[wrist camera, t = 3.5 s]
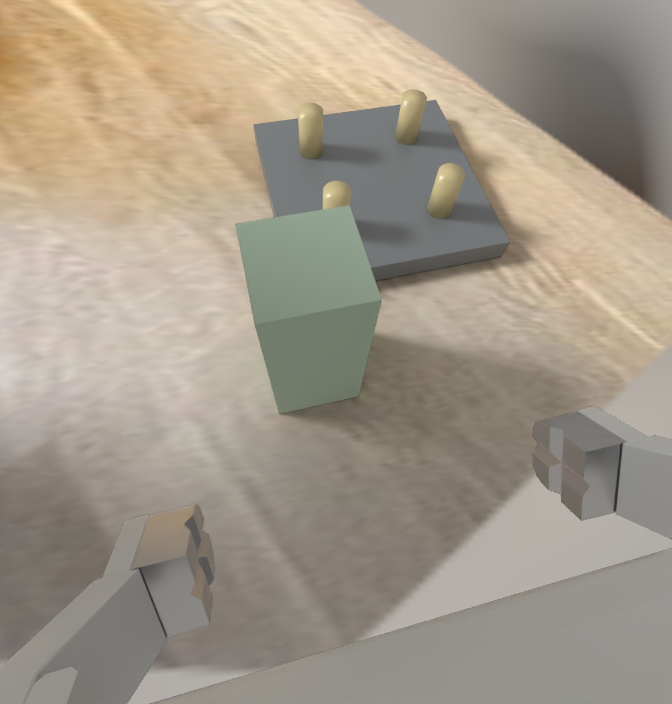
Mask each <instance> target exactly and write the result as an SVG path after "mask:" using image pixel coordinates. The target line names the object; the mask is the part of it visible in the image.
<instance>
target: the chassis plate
mask: <svg viewBox="0 0 672 704" xmlns="http://www.w3.org/2000/svg"><path fill="white" fill-rule="evenodd" d="M426 99H427V97H426V95H425V94H424V93H423V92H421V91H419V90H407V91H405V92H404V93H403V95H402V101H401V105H395V106H387V107H380V108H373V109H365V110H358V111H350V112H343V113H335V114H328V115H323V109H322V107H321V106H319V105H318V104H315V103H306V104H303V105H301V106H300V107H299V109H298V119H291V120H284V121H276V122H269V123H261V124H254V132H255V138H256V144H257V148H258V152H259V156H260V160H261V165H262V169H263V173H264V177H265V181H266V185H267V189H268V194H269V198H270V202H271V206H272V210H273V214H274V217H280V216H287V215H293V214H299V213H305V212H311V211H317V210H323V209H329V208H335V207H342V206H348V205H350V208H351V211H352V214H353V217H354V220H355V223H356V226H357V229H358V232H359V235H360V237H361V240H362V243H363V246H364V249H365V252H366V255H367V258H368V261H369V264H370V267H371V270H372V273H373V275H374V278H375V281H377V280H382V279H387V278H393V277H398V276H403V275H408V274H414V273H419V272H424V271H429V270H435V269H440V268H445V267H451V266H456V265H461V264H466V263H472V262H477V261H482V260H487V259H493V258H498V257H501V256H502V255H503V253H504V251H505V250H506V248H507V246H508V244H509V243H510V241H509V239H508V237H507V235H506V233H505V232H504V230H503V228H502V226H501V224H500V222H499V220H498V218H497V216H496V214H495V212H494V210H493V209H492V207H491V205H490V203H489V201H488V199H487V197H486V195H485V193H484V191H483V189H482V187H481V186H480V184H479V182H478V180H477V178H476V176H475V174H474V172H473V170H472V168H471V166H470V165H469V163H468V161H467V159H466V157H465V155H464V153H463V151H462V149H461V147H460V145H459V143H458V142H457V140H456V138H455V136H454V134H453V132H452V130H451V128H450V126H449V124H448V122H447V120H446V119H445V117H444V115H443V113H442V111H441V109H440V107H439V105H438V103H437V101H436V100H432V101H426Z"/></svg>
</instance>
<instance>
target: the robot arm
mask: <svg viewBox="0 0 672 704" xmlns="http://www.w3.org/2000/svg"><path fill="white" fill-rule="evenodd" d="M533 438H534V439H535V440H536V441H537V443H538V445H537V446H536V448H535V449H534V451H533V453H532V456H533V467H534V469H535V472H536V475H537V477H538V478H539V480H540V481H541V483H542V484H543V485H544V486H545V487H546V488H547V489H548V490H550V491H553V492H556V493H559V494H561V502H562V503H563V504H564V505H565V506H566V507H567V508H568V509H569V510H571V512H573V513H574V514H575V515H576V516H577V517H578V518H579V519H580V520H581V521H582V520H587V519H591V518H594V517H599V516H603V515H606V514H611V513H615V512H616V514H617V515H619V516H621V517H624V518H626V519H628V520H630V521H632V522H635V523H637V524H639V525H641V526H644V527H646V528H648V529H650V530H652V531H655V532H657V533H659V534H661V535H663V536H666V537H668V538H670V539H672V439H670V438H665V437H660V436H655V435H654V436H650V437H648V436H646V435H645V434H643V433H641V432H639V431H637V430H636V429H634V428H633V427H631V426H629V425H627V424H626V423H624V422H622V421H620V420H618V419H617V418H615V417H613V416H612V415H610V414H608V413H606V412H605V411H603V410H601V409H599V408H597V407H588V408H584V409H581V410H577V411H574V412H572V413H568V414H564V415H560V416H556V417H552V418H549V419H545V420H541V421H537V422H535V424H534V426H533ZM203 523H204V517H203V515H202V512H201V509H200V507H199V506H198V505H197V504H194V505H190V506H185V507H181V508H176V509H171V510H167V511H162V512H158V513H153V514H151V515H145V516H141V517H137V518H133V519H128V520H127V521H126V522H124V524H123V526H122V528H121V531H120V533H119V536H118V538H117V541H116V543H115V546H114V548H113V551H112V554H111V556H110V559H109V561H108V564H107V566H106V569H105V571H104V574H103V577H102V578H100V579H97V580H94V581H93V582H92V583H91V584H90V585H89V586H87V587H86V588H85V589H84V590H83V591H82V592H81V593H80V594H79V595H78V596H77V597H76V598H75V599H74V600H72V601H71V602H70V603H69V604H68V605H67V606H66V607H65V608H64V609H63V610H62V611H61V612H60V613H59V614H57V615H56V616H55V617H54V618H53V619H52V620H51V621H50V622H49V623H48V624H47V625H46V626H45V627H43V628H42V629H41V630H40V631H39V632H38V633H37V634H36V635H35V636H34V637H33V638H32V639H31V640H30V641H28V642H27V643H26V644H25V645H24V646H23V647H22V648H21V649H20V650H19V651H18V652H17V653H16V654H15V655H13V656H12V657H11V658H10V659H9V660H8V661H7V662H6V663H5V664H4V665H3V666H2V667H1V668H0V704H127V703H128V702H129V700H130V698H131V697H132V695H133V694H134V692H135V691H136V689H137V687H138V686H139V684H140V683H141V681H142V680H143V678H144V676H145V675H146V673H147V672H148V670H149V669H150V667H151V665H152V664H153V662H154V661H155V659H156V658H157V656H158V655H159V653H160V651H161V650H162V648H163V647H164V645H165V644H166V642H167V638H170V637H173V636H176V635H179V634H183V633H186V632H189V631H192V630H195V629H199V628H202V627H205V626H208V625H210V618H211V607H212V594H211V591H210V588H209V585H210V584H211V583H212V581H213V580H214V572H215V565H214V553H213V548H212V543H211V540H210V536H209V534H207V533H205V532H204V531H203ZM151 704H672V548H670V549H667V550H663V551H660V552H657V553H653V554H650V555H647V556H643V557H640V558H637V559H633V560H630V561H626V562H623V563H620V564H616V565H613V566H609V567H606V568H603V569H599V570H596V571H592V572H590V573H586V574H582V575H579V576H576V577H572V578H569V579H566V580H562V581H559V582H555V583H552V584H549V585H545V586H542V587H538V588H535V589H532V590H528V591H525V592H522V593H518V594H515V595H512V596H509V597H505V598H502V599H498V600H495V601H492V602H488V603H485V604H482V605H478V606H475V607H472V608H468V609H465V610H462V611H458V612H455V613H452V614H449V615H445V616H442V617H438V618H435V619H432V620H429V621H425V622H422V623H418V624H415V625H412V626H408V627H405V628H402V629H398V630H395V631H392V632H388V633H385V634H382V635H378V636H375V637H372V638H368V639H365V640H362V641H358V642H355V643H352V644H348V645H345V646H341V647H338V648H335V649H331V650H328V651H325V652H321V653H318V654H315V655H311V656H308V657H305V658H301V659H298V660H295V661H291V662H288V663H285V664H281V665H278V666H275V667H271V668H268V669H265V670H261V671H258V672H254V673H251V674H248V675H244V676H241V677H238V678H234V679H232V680H228V681H224V682H221V683H218V684H214V685H211V686H208V687H204V688H201V689H198V690H194V691H191V692H188V693H184V694H181V695H178V696H174V697H171V698H168V699H164V700H161V701H157V702H154V703H151Z"/></svg>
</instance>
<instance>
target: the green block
mask: <svg viewBox="0 0 672 704" xmlns="http://www.w3.org/2000/svg"><path fill="white" fill-rule="evenodd" d="M236 230H237V235H238V240H239V245H240V250H241V256H242V261H243V266H244V271H245V277H246V282H247V287H248V292H249V297H250V303H251V308H252V313H253V318H254V324H255V328H256V331H257V335H258V338H259V342H260V346H261V349H262V353H263V356H264V360H265V364H266V367H267V371H268V375H269V378H270V382H271V385H272V389H273V393H274V396H275V400H276V404H277V407H278V411H279V414H282V413H287V412H291V411H296V410H300V409H305V408H309V407H314V406H318V405H322V404H327V403H331V402H336V401H340V400H345V399H349V398H354V397H358V396H359V394H360V389H361V385H362V381H363V377H364V373H365V368H366V364H367V360H368V356H369V352H370V347H371V343H372V339H373V335H374V330H375V326H376V322H377V318H378V314H379V309H380V305H381V301H382V299H381V296H380V293H379V290H378V287H377V284H376V281H375V278H374V275H373V273H372V270H371V267H370V264H369V261H368V258H367V255H366V252H365V249H364V246H363V243H362V240H361V237H360V235H359V232H358V229H357V226H356V223H355V220H354V217H353V214H352V211H351V208H350V205H348V206H342V207H335V208H329V209H323V210H317V211H311V212H305V213H299V214H293V215H287V216H280V217H274V218H268V219H262V220H256V221H250V222H244V223H238V224H236Z"/></svg>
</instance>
